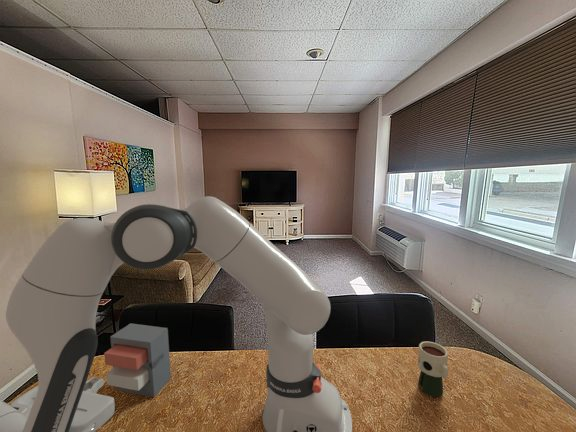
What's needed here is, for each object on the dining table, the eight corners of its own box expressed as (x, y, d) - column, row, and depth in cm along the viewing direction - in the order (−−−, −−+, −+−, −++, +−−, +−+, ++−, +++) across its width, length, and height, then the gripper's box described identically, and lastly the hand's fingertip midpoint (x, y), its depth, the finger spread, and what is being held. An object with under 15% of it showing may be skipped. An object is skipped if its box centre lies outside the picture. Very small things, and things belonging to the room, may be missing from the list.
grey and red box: (154, 397, 70) (150, 342, 68) (115, 389, 72) (110, 336, 70) (170, 378, 77) (167, 328, 75) (134, 371, 79) (130, 323, 77)
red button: (136, 370, 65) (135, 358, 65) (105, 364, 67) (104, 353, 67) (148, 359, 69) (147, 348, 69) (118, 354, 71) (117, 343, 71)
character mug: (407, 377, 77) (409, 338, 75) (428, 374, 78) (430, 336, 76) (432, 408, 66) (435, 363, 65) (456, 405, 67) (460, 360, 66)
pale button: (138, 390, 66) (137, 379, 66) (107, 384, 68) (106, 373, 68) (149, 379, 70) (149, 368, 70) (119, 374, 72) (118, 363, 72)
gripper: (73, 432, 45) (134, 375, 58) (-11, 410, 49) (64, 361, 62) (76, 462, 46) (136, 399, 59) (-7, 438, 50) (67, 384, 63)
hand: (99, 380), depth 61 cm, fingers closed
